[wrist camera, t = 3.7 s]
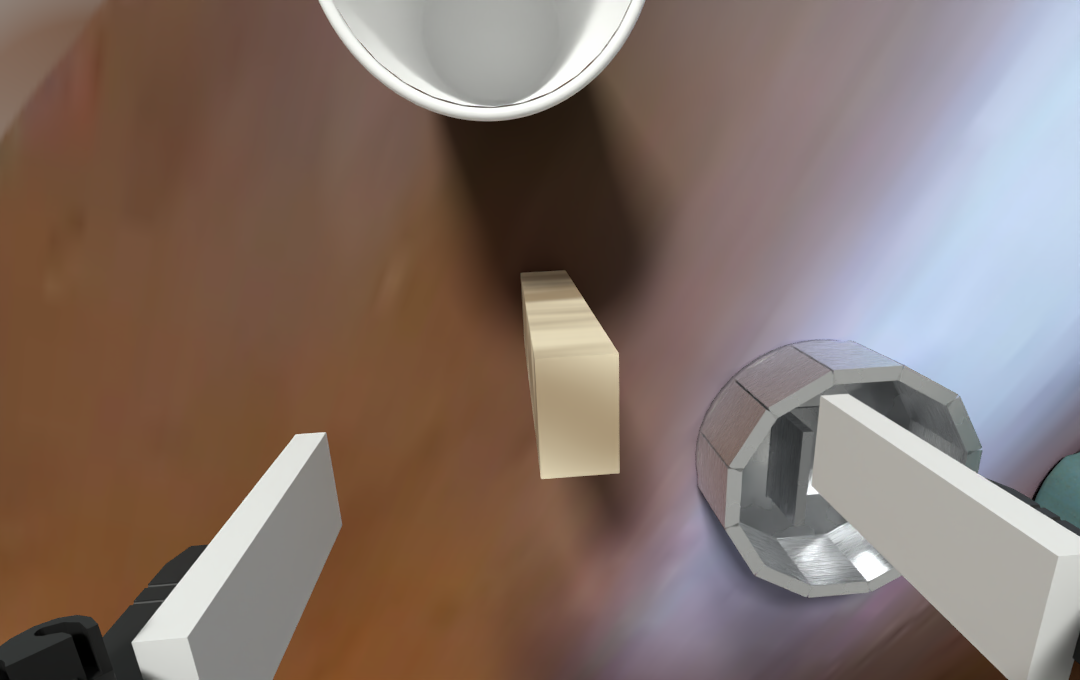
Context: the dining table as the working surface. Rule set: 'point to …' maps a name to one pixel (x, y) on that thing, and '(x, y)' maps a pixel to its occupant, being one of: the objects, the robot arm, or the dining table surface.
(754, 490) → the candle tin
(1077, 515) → the flower pot
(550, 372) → the cream rectangular wooden bar
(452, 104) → the coffee cup
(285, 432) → the dining table surface
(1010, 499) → the robot arm
